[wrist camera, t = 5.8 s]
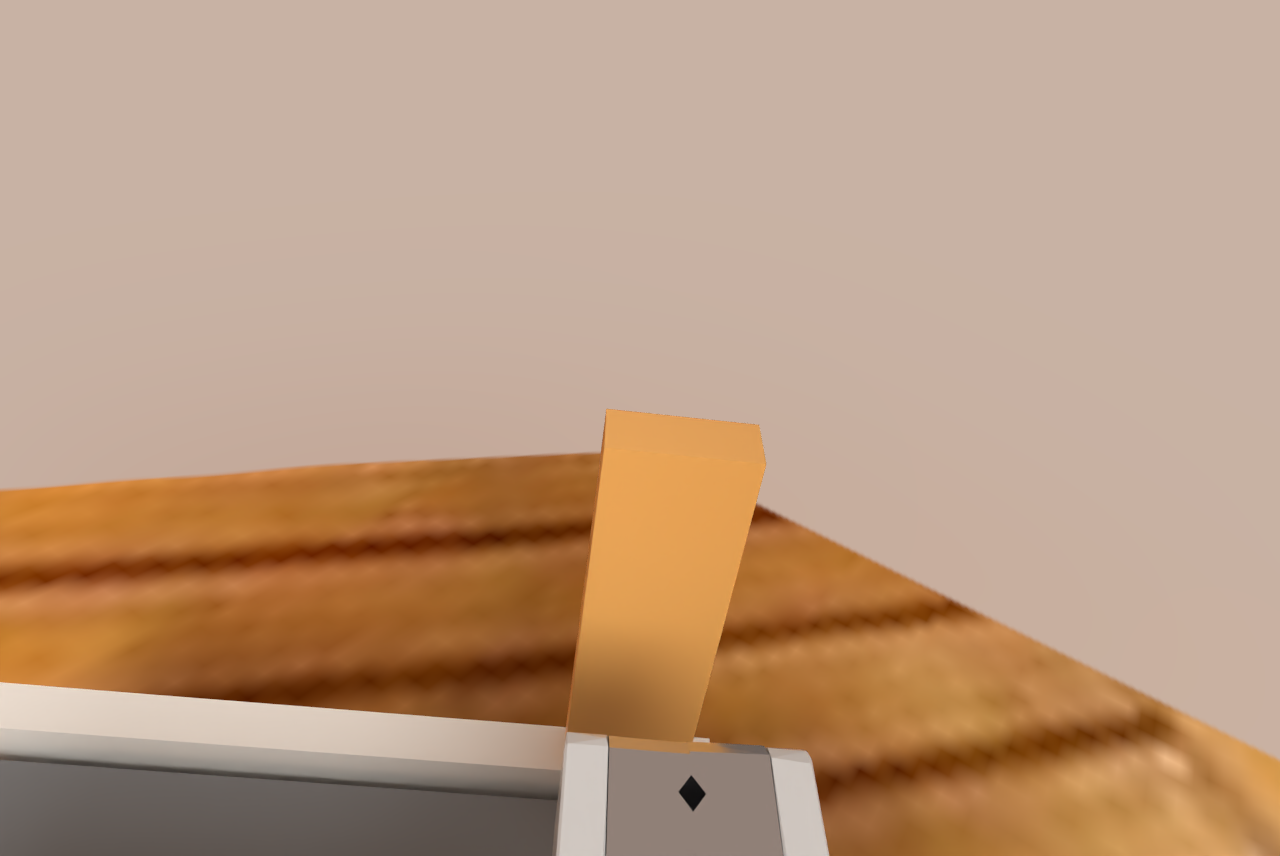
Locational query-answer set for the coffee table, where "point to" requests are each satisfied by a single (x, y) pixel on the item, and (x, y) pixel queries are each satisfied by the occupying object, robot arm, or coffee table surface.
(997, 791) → the coffee table surface
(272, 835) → the gray box camera
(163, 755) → the thin white panel
